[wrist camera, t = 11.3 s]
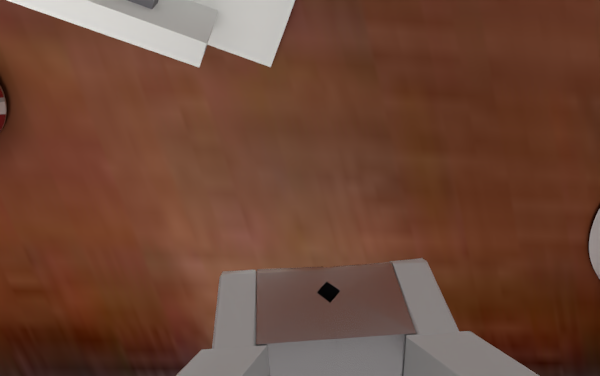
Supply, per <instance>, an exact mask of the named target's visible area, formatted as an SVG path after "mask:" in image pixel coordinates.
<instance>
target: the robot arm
mask: <svg viewBox="0 0 600 376" xmlns="http://www.w3.org/2000/svg"><path fill="white" fill-rule="evenodd" d="M589 255H590V260H591V263H592V266H593V268H594V271H595V272H596V274H597V276H598V278H599V279H600V209H599V211H598V213H597V215H596V217H595V219H594V222H593V225H592V228H591V232H590V238H589ZM176 376H539V375H537V374H536V373H534V372H533V371H531V370H530V369H528V368H526V367H525V366H523V365H522V364H520V363H519V362H517V361H516V360H514V359H512V358H511V357H509V356H508V355H506V354H505V353H503V352H502V351H500V350H498V349H497V348H495V347H494V346H492V345H491V344H489V343H488V342H486V341H484V340H483V339H481V338H480V337H478V336H477V335H475V334H474V333H472V332H470V331H462V332H459V330H458V328H457V326H456V323H455V321H454V319H453V317H452V315H451V313H450V310H449V308H448V306H447V304H446V302H445V299H444V297H443V295H442V293H441V291H440V289H439V286H438V284H437V282H436V280H435V278H434V276H433V273H432V271H431V269H430V267H429V265H428V262H427V261H426V260H424V259H423V258H420V259H409V260H399V261H390V262H387V263H374V264H361V265H347V266H334V267H302V268H279V269H257V271H256V270H240V271H225V272H222V274H221V276H220V279H219V289H218V298H217V307H216V317H215V326H214V335H213V344H212V349H205V350H201V351H200V352H199V353H198V354H197V355H196V356H195V357H194V358H193V359H192V360H191V361H190V362H189V363H188V364H187V365H186V366H185V367H184V368H183V369H182V370H181V371H180V372H179V373H178V374H177V375H176Z"/></svg>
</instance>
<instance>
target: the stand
mask: <svg viewBox="0 0 600 376" xmlns="http://www.w3.org/2000/svg"><path fill="white" fill-rule="evenodd" d="M7 1H10V2H13V3H16V4H19V5H22V6H24V7H27V8H30V9H33V10H36V11H39V12H42V13H45V14H47V15H50V16H53V17H56V18H59V19H62V20H65V21H67V22H70V23H73V24H76V25H79V26H82V27H85V28H87V29H90V30H93V31H96V32H99V33H102V34H105V35H107V36H110V37H113V38H116V39H119V40H122V41H125V42H128V43H130V44H133V45H136V46H139V47H142V48H145V49H148V50H150V51H153V52H156V53H159V54H162V55H165V56H168V57H170V58H173V59H176V60H179V61H182V62H185V63H188V64H190V65H193V66H196V67H200V64H201V61H202V58H203V55H204V53H205V50H206V47H207V45H210V46H213V47H216V48H218V49H221V50H224V51H227V52H230V53H232V54H235V55H238V56H241V57H243V58H246V59H249V60H252V61H255V62H257V63H260V64H263V65H266V66H268V67H271V65H272V62H273V60H274V57H275V54H276V52H277V49H278V46H279V43H280V41H281V38H282V35H283V32H284V30H285V27H286V24H287V21H288V19H289V16H290V13H291V10H292V8H293V5H294V2H295V0H7Z"/></svg>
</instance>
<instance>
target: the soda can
mask: <svg viewBox="0 0 600 376" xmlns="http://www.w3.org/2000/svg"><path fill="white" fill-rule="evenodd" d="M6 115H7V104H6V99H5V95H4V92H3V90H2V88H1V86H0V132H1V130H2V128H3V126H4V124H5V120H6Z"/></svg>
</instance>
